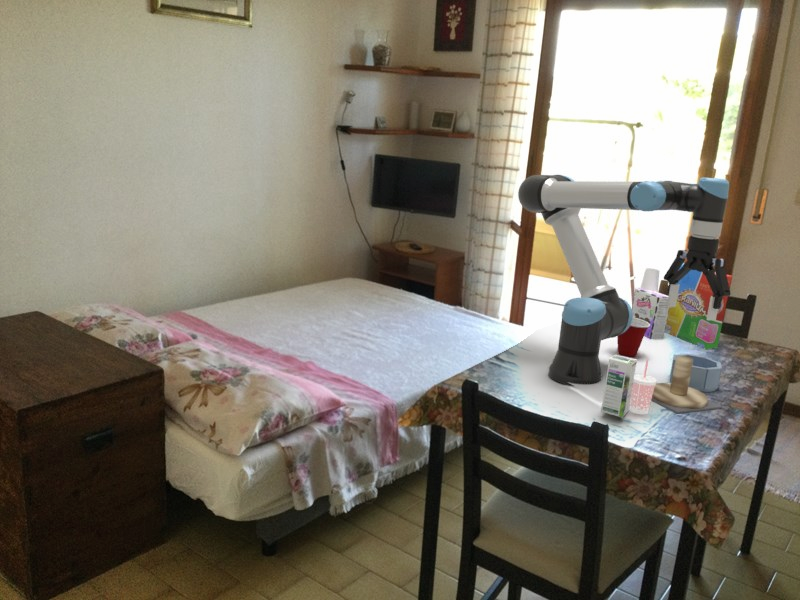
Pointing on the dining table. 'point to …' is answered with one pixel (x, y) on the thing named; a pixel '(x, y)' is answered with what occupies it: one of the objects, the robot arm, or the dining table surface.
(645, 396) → the beverage cup
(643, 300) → the candy box
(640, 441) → the dining table surface
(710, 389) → the bowl
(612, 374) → the syrup box
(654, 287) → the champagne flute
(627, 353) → the plastic cup
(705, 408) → the mat
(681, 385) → the lid
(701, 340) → the game box
